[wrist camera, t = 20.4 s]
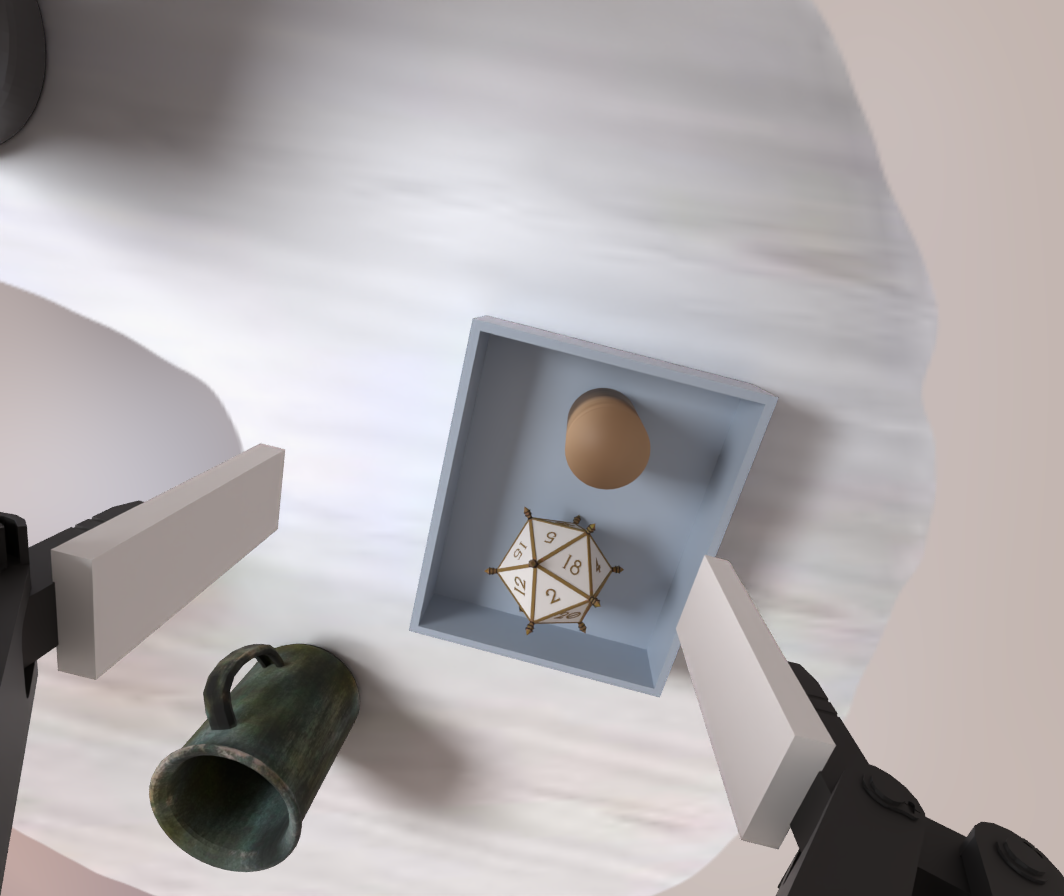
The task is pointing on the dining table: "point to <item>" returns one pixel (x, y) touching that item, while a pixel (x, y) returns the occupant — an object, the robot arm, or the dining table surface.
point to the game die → (554, 571)
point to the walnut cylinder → (605, 440)
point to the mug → (256, 756)
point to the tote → (582, 499)
